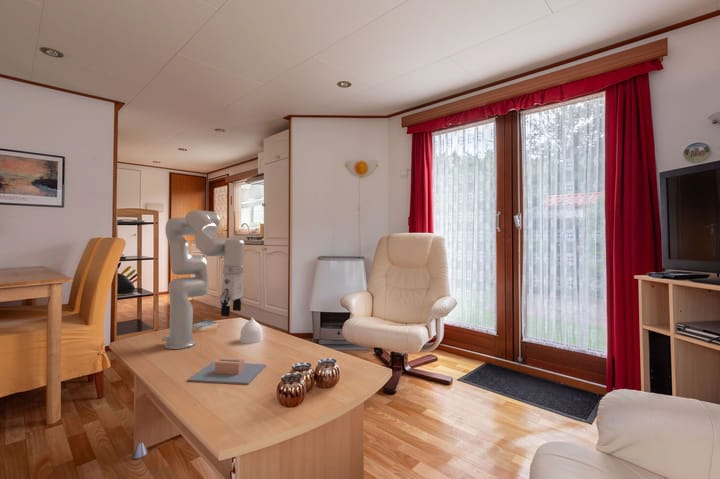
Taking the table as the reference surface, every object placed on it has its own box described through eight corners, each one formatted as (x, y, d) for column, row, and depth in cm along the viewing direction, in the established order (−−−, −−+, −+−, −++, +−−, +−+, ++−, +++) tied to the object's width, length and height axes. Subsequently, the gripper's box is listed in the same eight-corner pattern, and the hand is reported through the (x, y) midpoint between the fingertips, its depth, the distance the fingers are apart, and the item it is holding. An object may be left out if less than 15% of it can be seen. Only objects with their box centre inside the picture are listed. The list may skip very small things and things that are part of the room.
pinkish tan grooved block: (238, 374, 124) (238, 362, 124) (214, 372, 125) (215, 361, 125) (243, 369, 128) (243, 358, 129) (220, 368, 129) (221, 357, 129)
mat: (187, 381, 118) (187, 379, 118) (212, 363, 136) (212, 361, 136) (248, 384, 117) (248, 382, 117) (266, 365, 135) (266, 364, 135)
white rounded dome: (237, 339, 170) (237, 315, 170) (258, 336, 177) (259, 313, 177) (243, 345, 161) (244, 319, 161) (266, 341, 168) (266, 317, 168)
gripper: (232, 273, 125) (230, 319, 125) (251, 268, 142) (249, 309, 142) (213, 271, 125) (210, 317, 125) (234, 267, 142) (232, 308, 143)
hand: (231, 313), depth 134 cm, fingers open, 9 cm apart
